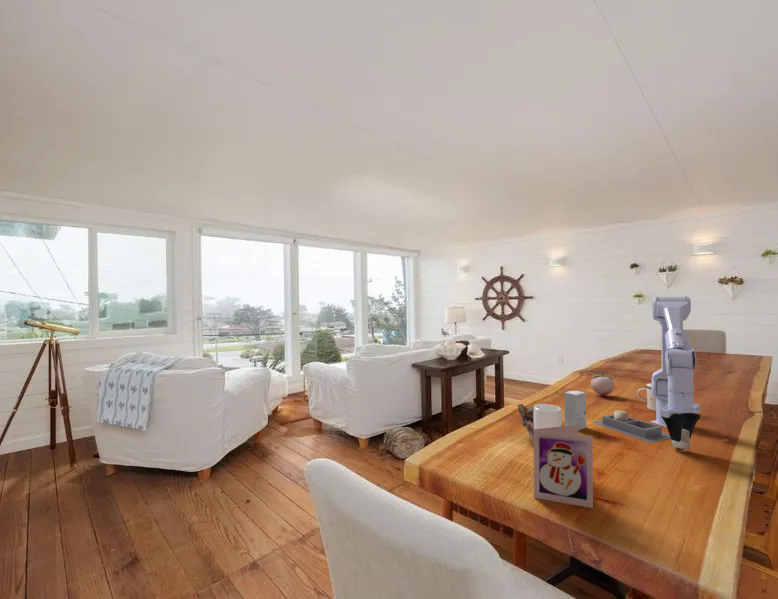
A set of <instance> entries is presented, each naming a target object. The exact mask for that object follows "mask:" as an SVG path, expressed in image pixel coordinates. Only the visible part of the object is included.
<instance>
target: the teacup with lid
mask: <svg viewBox="0 0 778 599" xmlns="http://www.w3.org/2000/svg"><path fill="white" fill-rule="evenodd" d="M645 387H646V388H644V387H643V388H639V389H638V390H637V392H636V394H637V397H638V399H639V400H641V401H643V402H646V408H647V409H648V410H650V411H653V412H656V396H653V395H652V391H651V383H646V386H645ZM641 391H645V392H646V399H645V398H643V397H641V394H640V392H641Z"/></svg>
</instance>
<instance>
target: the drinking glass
mask: <svg viewBox="0 0 778 599" xmlns="http://www.w3.org/2000/svg"><path fill="white" fill-rule="evenodd" d="M534 405H535V406H534V429H541V428H551V427H561V426H563V425H562V424H563V423H562V419H563V418H562V416H563V414H562V407H561V406H560V407H559V406H558V405H554V404H549V403H538V404H537V403H536V404H534Z"/></svg>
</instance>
